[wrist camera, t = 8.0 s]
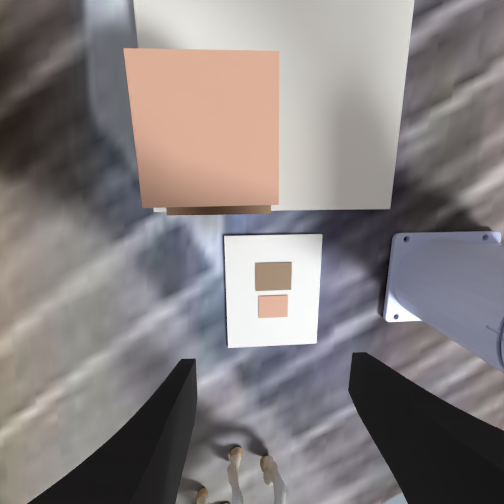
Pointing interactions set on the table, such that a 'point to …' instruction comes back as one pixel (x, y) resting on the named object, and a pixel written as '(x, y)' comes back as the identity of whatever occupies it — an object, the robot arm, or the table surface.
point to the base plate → (311, 85)
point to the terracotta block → (205, 126)
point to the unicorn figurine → (269, 477)
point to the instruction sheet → (272, 289)
